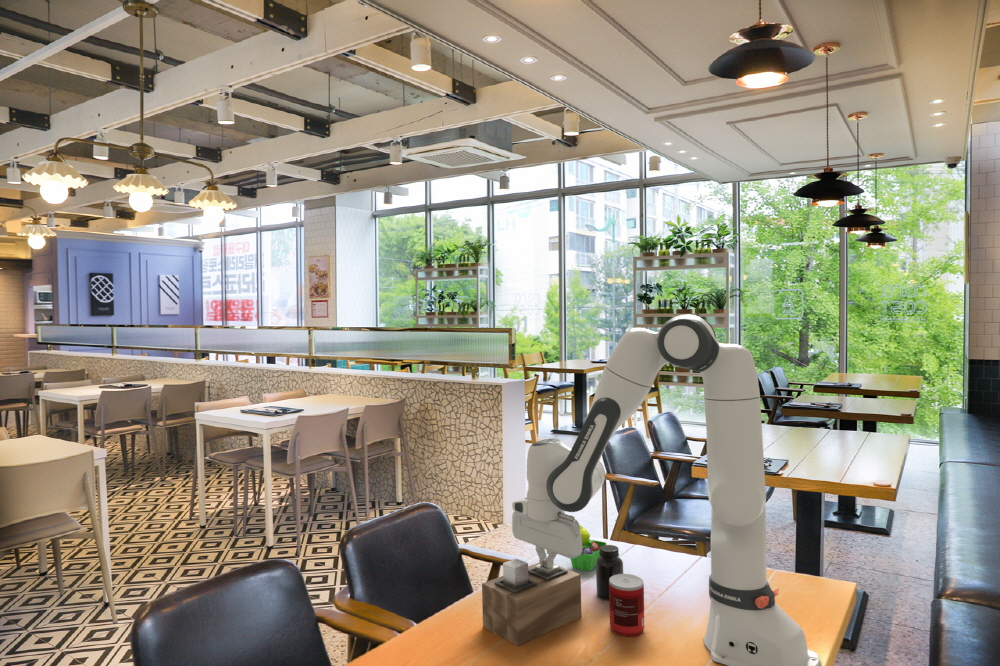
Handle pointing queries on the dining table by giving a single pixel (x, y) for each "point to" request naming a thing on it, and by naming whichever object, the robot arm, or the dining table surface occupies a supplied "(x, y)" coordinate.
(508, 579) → the peg
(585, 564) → the fruit basket
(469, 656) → the dining table surface
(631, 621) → the canned food
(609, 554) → the supplement bottle
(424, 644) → the dining table surface
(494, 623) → the socket block
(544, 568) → the peg
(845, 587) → the dining table surface
